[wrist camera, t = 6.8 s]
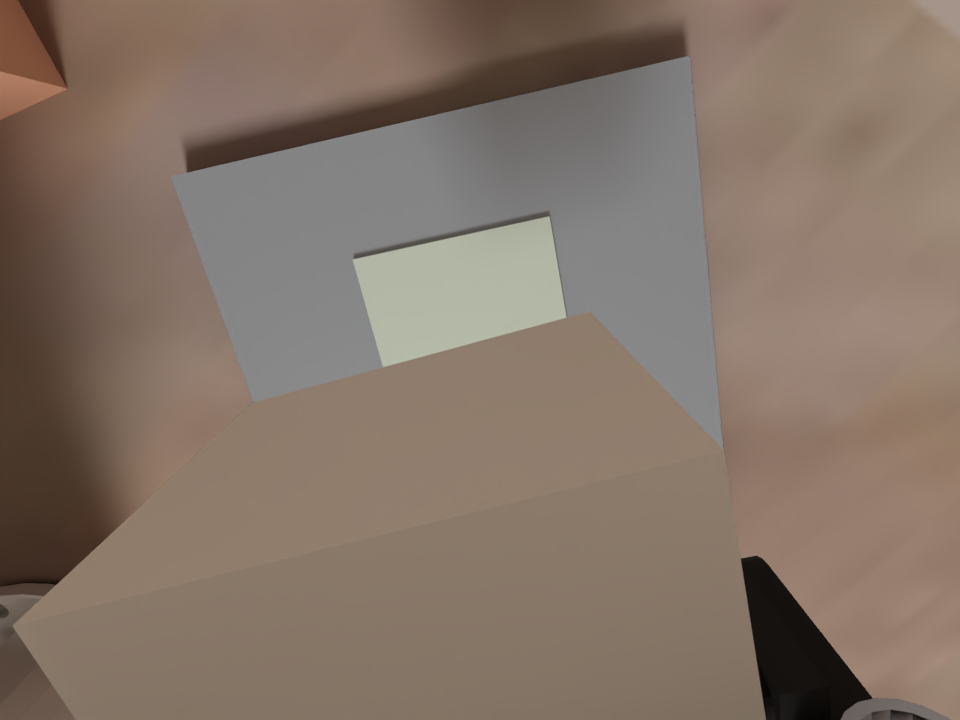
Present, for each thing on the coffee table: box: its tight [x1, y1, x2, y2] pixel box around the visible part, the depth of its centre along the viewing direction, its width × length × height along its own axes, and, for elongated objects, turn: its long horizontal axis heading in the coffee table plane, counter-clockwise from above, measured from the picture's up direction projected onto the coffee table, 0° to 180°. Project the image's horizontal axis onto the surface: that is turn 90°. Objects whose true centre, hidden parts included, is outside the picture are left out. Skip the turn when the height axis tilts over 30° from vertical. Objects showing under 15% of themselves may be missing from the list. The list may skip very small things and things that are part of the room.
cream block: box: [13, 311, 766, 720], centre depth 8 cm, size 9×6×5 cm, turn 16°
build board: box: [171, 56, 723, 449], centre depth 23 cm, size 20×20×1 cm
